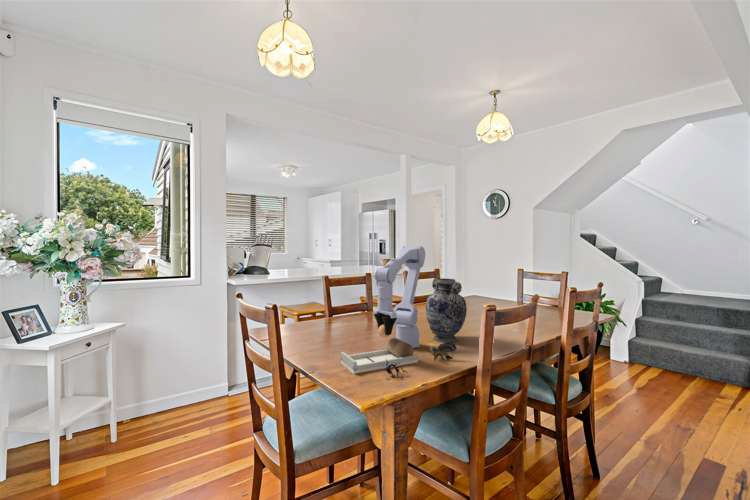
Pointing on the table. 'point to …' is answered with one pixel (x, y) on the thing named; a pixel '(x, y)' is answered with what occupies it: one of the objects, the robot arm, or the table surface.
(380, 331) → the ball
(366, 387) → the table surface
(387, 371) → the creature
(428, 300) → the decorative vase
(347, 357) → the lane
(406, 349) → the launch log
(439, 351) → the withered leafy plant
